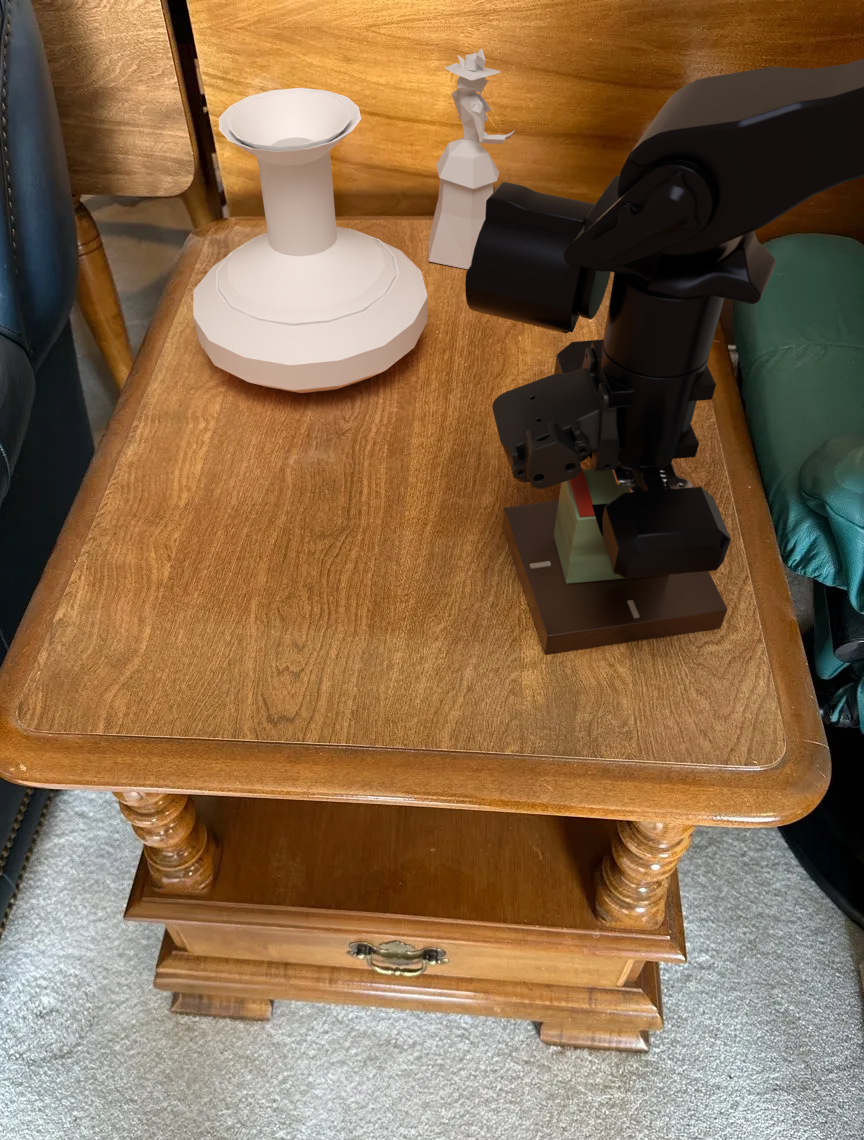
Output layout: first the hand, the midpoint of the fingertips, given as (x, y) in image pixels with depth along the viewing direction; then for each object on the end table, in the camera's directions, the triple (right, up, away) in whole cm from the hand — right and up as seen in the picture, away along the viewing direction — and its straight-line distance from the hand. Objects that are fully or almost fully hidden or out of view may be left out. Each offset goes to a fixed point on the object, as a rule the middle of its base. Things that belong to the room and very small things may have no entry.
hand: (612, 545), depth 64 cm
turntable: (0, -2, +2) cm, 3 cm away
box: (0, -1, +1) cm, 1 cm away
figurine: (-8, +32, +30) cm, 44 cm away
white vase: (-21, +20, +20) cm, 35 cm away
